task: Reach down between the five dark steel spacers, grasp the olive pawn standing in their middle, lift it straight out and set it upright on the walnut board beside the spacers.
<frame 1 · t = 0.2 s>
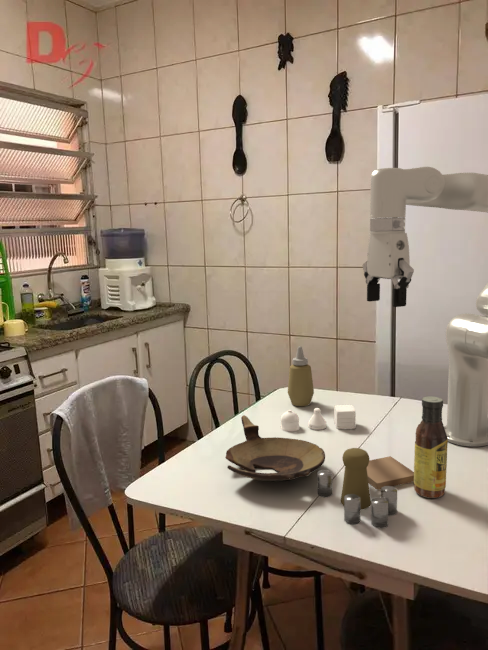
hand: (385, 303, 122), 37 cm above the table, tool pointing down, fingers open, 9 cm apart
walnut board: (384, 475, 119), on the table
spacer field: (355, 501, 108), on the table
olive pawn: (355, 503, 109), on the table
broken ceramic bowl: (274, 468, 125), on the table
squeeze bottle: (300, 404, 167), on the table
container set: (317, 428, 148), on the table
sauce bottle: (429, 492, 111), on the table
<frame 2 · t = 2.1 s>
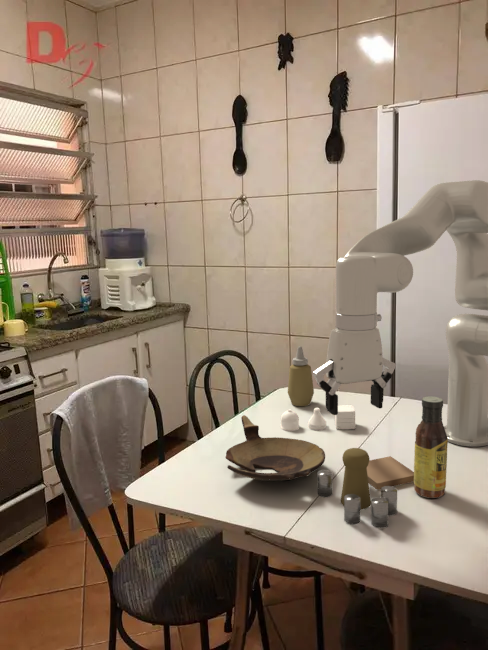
hand: (354, 409, 104), 20 cm above the table, tool pointing down, fingers open, 9 cm apart
nothing on the table moved.
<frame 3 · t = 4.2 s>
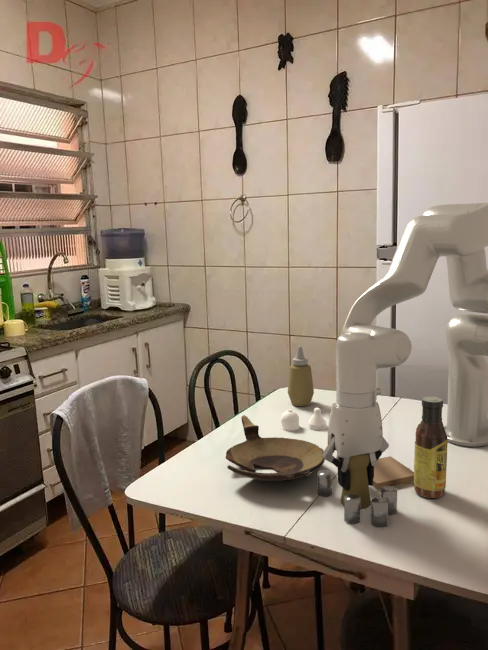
hand: (355, 484, 108), 4 cm above the table, tool pointing down, fingers closed on olive pawn, 4 cm apart
olive pawn: (355, 503, 108), on the table, touching gripper
everything else where it was.
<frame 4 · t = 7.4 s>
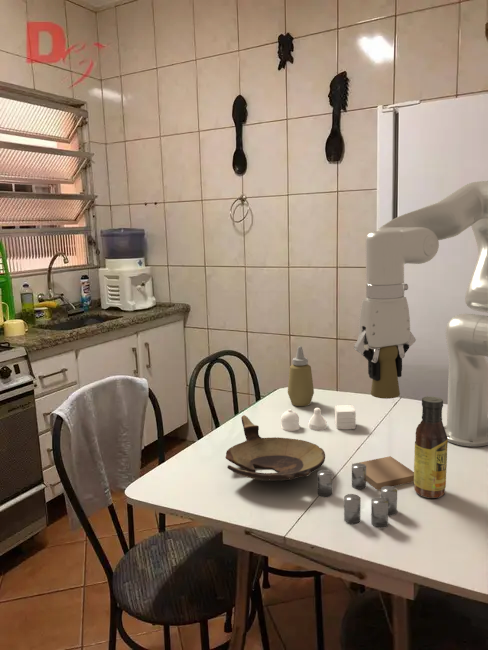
hand: (385, 376, 114), 23 cm above the table, tool pointing down, fingers closed on olive pawn, 4 cm apart
olive pawn: (385, 394, 115), point 19 cm above the table, touching gripper
everything else where it was.
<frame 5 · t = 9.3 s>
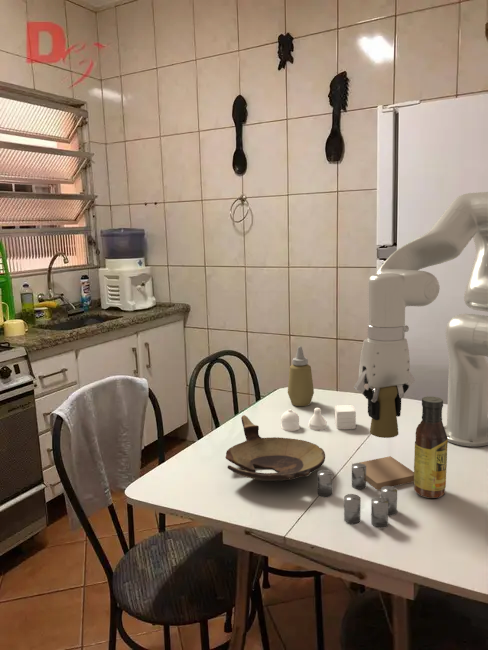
hand: (384, 415, 116), 14 cm above the table, tool pointing down, fingers closed on olive pawn, 4 cm apart
olive pawn: (384, 433, 117), point 10 cm above the table, touching gripper
everything else where it was.
when the fingers open (7 cm above the table, at t = 11.0 s): olive pawn drops 1 cm, resting on walnut board.
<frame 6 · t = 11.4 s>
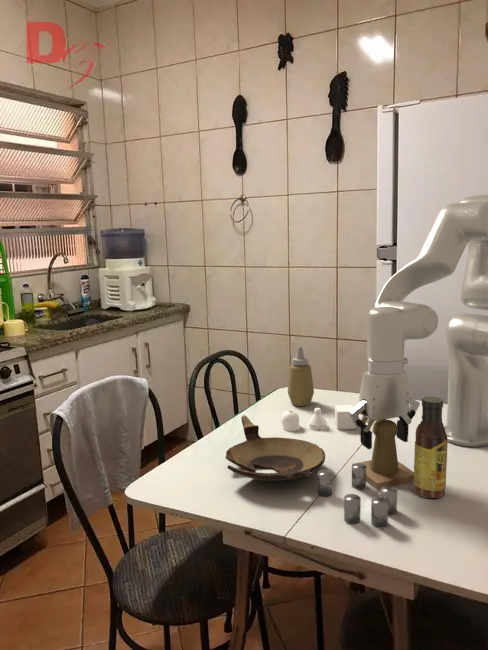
hand: (384, 443, 118), 8 cm above the table, tool pointing down, fingers open, 8 cm apart
olive pawn: (384, 469, 119), point 1 cm above the table, touching walnut board
everything else where it was.
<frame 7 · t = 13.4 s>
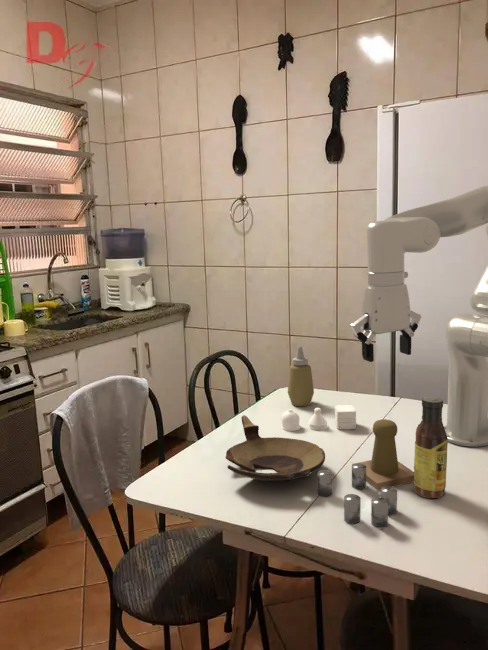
hand: (387, 356, 119), 26 cm above the table, tool pointing down, fingers open, 9 cm apart
nothing on the table moved.
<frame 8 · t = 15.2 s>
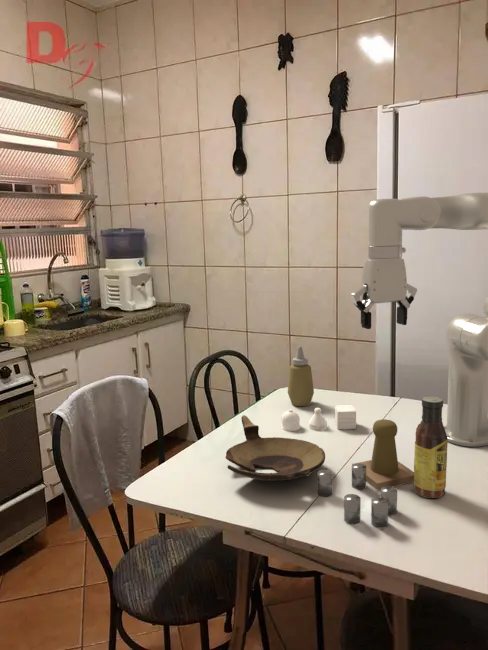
hand: (384, 326, 129), 30 cm above the table, tool pointing down, fingers open, 9 cm apart
nothing on the table moved.
at the end: olive pawn inside the target area on the walnut board (0.1 cm from its centre), point 1.3 cm above the walnut board's base; olive pawn tilted 0°; the gripper is holding nothing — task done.
